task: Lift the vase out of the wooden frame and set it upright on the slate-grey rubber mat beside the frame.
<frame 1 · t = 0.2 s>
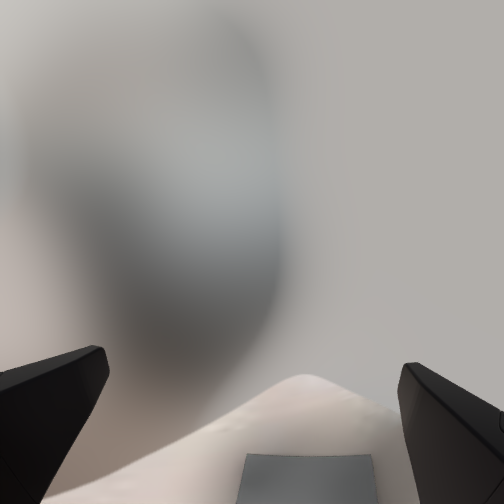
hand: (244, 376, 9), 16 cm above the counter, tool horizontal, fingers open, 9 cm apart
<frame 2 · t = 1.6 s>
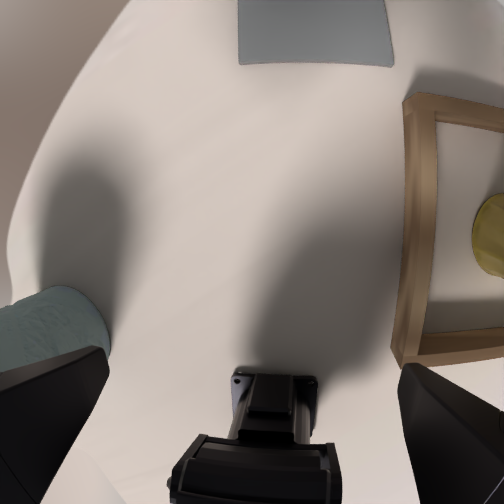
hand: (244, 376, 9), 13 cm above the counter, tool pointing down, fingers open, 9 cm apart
wooden frame: (501, 234, 18), on the counter
grey-blue cup: (73, 330, 25), on the counter
vase: (500, 234, 18), resting in wooden frame
slate mat: (311, 2, 17), on the counter
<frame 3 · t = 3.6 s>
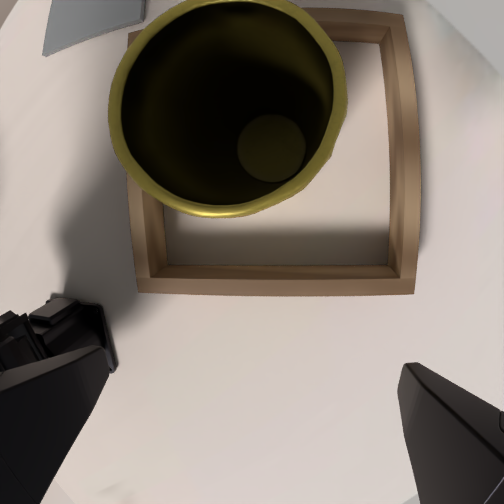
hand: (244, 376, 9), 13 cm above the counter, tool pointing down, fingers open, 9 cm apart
wooden frame: (272, 148, 20), on the counter
vase: (272, 149, 20), resting in wooden frame
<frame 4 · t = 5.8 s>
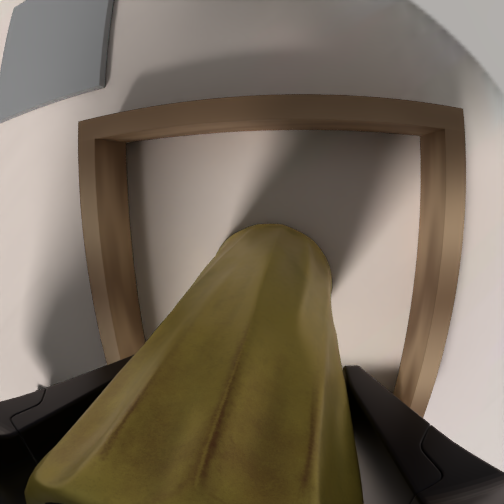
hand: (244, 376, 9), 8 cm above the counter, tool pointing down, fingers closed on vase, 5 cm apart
wooden frame: (270, 283, 16), on the counter
vase: (270, 282, 16), resting in wooden frame, touching gripper
slate mat: (51, 39, 15), on the counter
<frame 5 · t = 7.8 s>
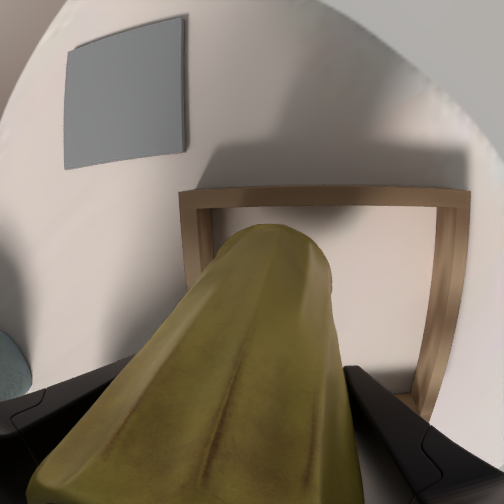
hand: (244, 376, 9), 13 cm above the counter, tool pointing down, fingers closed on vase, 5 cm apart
wooden frame: (326, 312, 21), on the counter
grey-blue cup: (9, 361, 29), on the counter
vase: (271, 282, 16), point 5 cm above the counter, touching gripper
slate mat: (119, 94, 20), on the counter
when the fingers open (9 cm above the counter, at t = 10.2 s): vase stays where it is, resting on slate mat.
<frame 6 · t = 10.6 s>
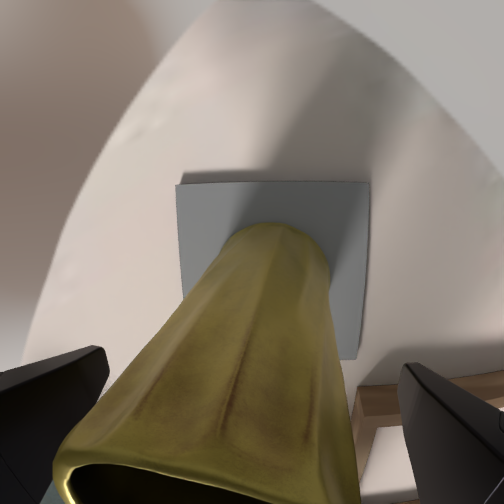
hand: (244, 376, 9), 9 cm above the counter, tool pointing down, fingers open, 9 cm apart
wooden frame: (436, 455, 19), on the counter
vase: (272, 278, 17), resting on slate mat
slate mat: (272, 274, 18), on the counter
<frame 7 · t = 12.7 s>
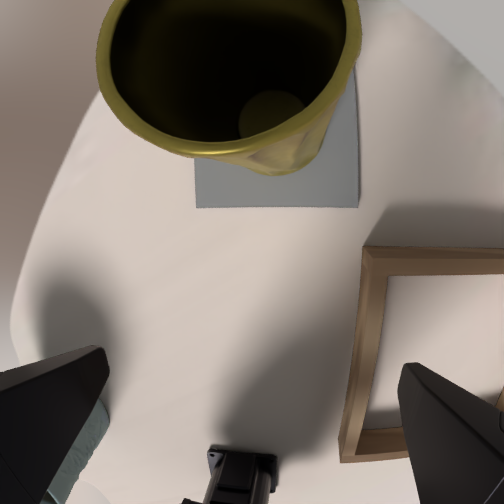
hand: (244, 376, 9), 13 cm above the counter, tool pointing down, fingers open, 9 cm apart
wooden frame: (452, 354, 21), on the counter
grey-blue cup: (77, 404, 28), on the counter
vase: (274, 126, 19), resting on slate mat
slate mat: (274, 126, 19), on the counter
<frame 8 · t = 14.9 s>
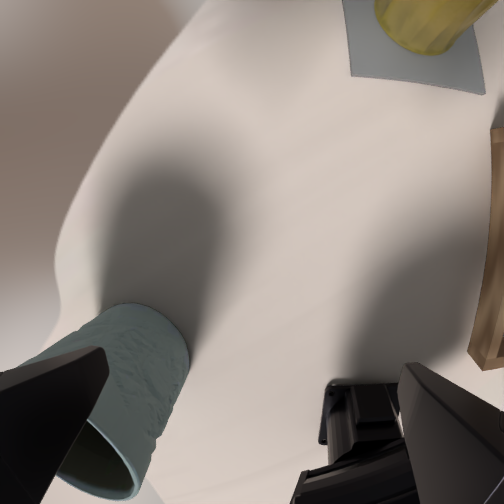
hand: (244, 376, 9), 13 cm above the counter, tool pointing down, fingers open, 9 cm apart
grey-blue cup: (141, 351, 25), on the counter
vase: (414, 20, 15), resting on slate mat
slate mat: (412, 21, 16), on the counter
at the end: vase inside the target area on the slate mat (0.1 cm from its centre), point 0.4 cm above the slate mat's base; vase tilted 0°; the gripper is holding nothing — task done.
